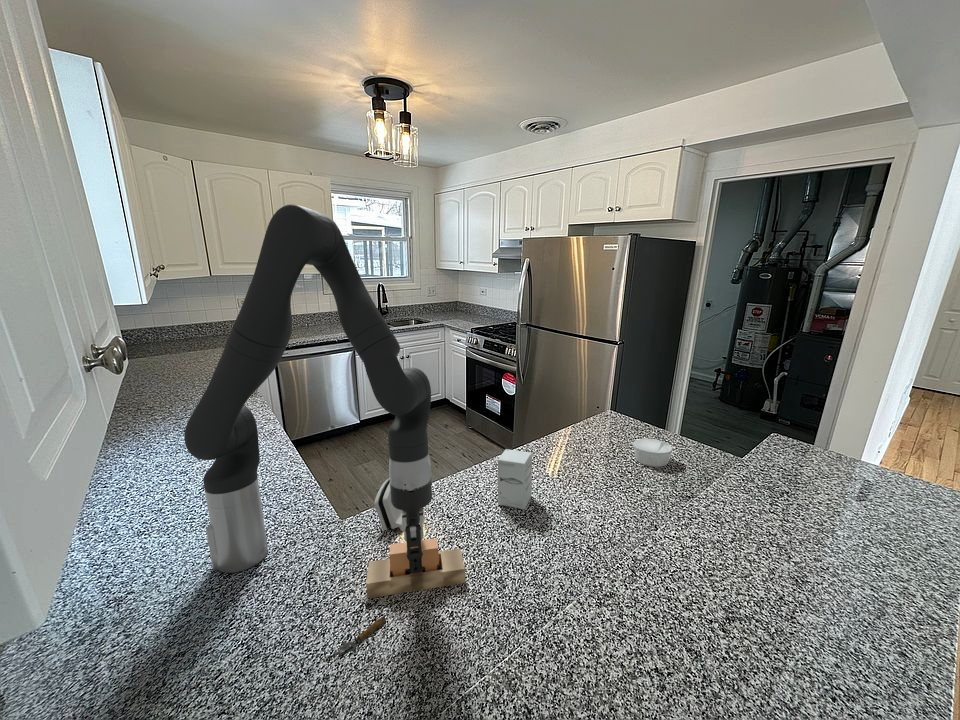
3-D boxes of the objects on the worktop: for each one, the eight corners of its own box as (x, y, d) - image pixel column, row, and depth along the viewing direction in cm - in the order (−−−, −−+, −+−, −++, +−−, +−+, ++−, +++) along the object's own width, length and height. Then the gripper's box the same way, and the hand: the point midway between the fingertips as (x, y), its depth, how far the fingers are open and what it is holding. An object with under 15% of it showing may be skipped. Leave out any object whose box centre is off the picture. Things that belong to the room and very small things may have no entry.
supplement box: (497, 505, 100) (496, 459, 98) (506, 491, 107) (505, 448, 105) (525, 510, 98) (524, 463, 95) (532, 496, 104) (532, 451, 102)
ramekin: (678, 468, 118) (679, 452, 117) (640, 469, 118) (641, 453, 117) (661, 453, 129) (662, 438, 128) (627, 454, 129) (628, 438, 128)
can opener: (383, 620, 67) (382, 614, 67) (390, 628, 65) (390, 622, 65) (331, 654, 61) (330, 648, 61) (338, 664, 59) (337, 658, 59)
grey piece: (403, 532, 90) (386, 494, 89) (385, 537, 91) (368, 499, 90) (425, 495, 106) (411, 462, 105) (410, 499, 107) (396, 466, 106)
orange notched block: (391, 587, 74) (389, 554, 72) (392, 576, 77) (390, 544, 75) (439, 580, 75) (438, 547, 74) (438, 569, 78) (437, 538, 77)
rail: (367, 598, 71) (366, 583, 71) (370, 575, 77) (369, 561, 76) (465, 582, 74) (464, 568, 74) (461, 561, 80) (460, 548, 80)
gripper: (391, 462, 78) (396, 536, 81) (387, 500, 64) (394, 586, 67) (429, 459, 79) (432, 531, 82) (433, 494, 66) (438, 580, 69)
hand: (415, 556), depth 75 cm, fingers open, 8 cm apart
